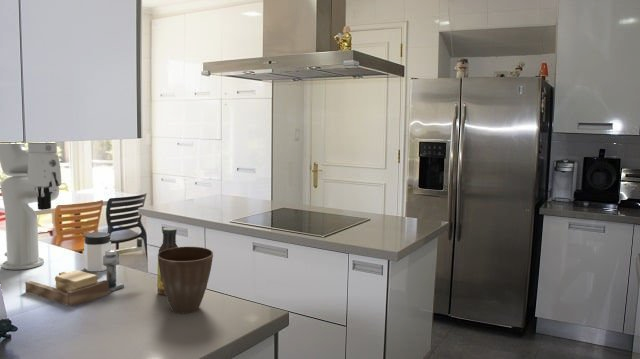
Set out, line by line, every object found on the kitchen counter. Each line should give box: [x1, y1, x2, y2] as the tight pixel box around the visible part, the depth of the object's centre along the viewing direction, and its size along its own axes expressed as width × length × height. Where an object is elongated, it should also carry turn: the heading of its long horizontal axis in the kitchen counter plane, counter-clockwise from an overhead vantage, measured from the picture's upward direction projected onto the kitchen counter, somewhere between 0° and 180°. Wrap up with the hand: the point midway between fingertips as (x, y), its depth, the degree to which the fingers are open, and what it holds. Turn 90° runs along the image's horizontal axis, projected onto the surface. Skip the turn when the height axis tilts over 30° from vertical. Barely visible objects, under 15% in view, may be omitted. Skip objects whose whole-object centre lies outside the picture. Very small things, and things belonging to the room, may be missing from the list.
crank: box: [105, 238, 143, 257], centre depth 155 cm, size 12×3×4 cm, turn 137°
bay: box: [24, 271, 110, 307], centre depth 148 cm, size 22×12×4 cm, turn 61°
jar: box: [83, 231, 112, 272], centre depth 172 cm, size 9×8×12 cm
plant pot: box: [157, 246, 214, 314], centre depth 138 cm, size 15×15×16 cm
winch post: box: [103, 254, 125, 293], centre depth 153 cm, size 5×5×10 cm
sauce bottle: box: [156, 227, 179, 296], centre depth 150 cm, size 6×6×20 cm
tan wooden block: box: [54, 269, 99, 292], centre depth 145 cm, size 9×7×6 cm
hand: (44, 208), depth 150 cm, fingers closed
